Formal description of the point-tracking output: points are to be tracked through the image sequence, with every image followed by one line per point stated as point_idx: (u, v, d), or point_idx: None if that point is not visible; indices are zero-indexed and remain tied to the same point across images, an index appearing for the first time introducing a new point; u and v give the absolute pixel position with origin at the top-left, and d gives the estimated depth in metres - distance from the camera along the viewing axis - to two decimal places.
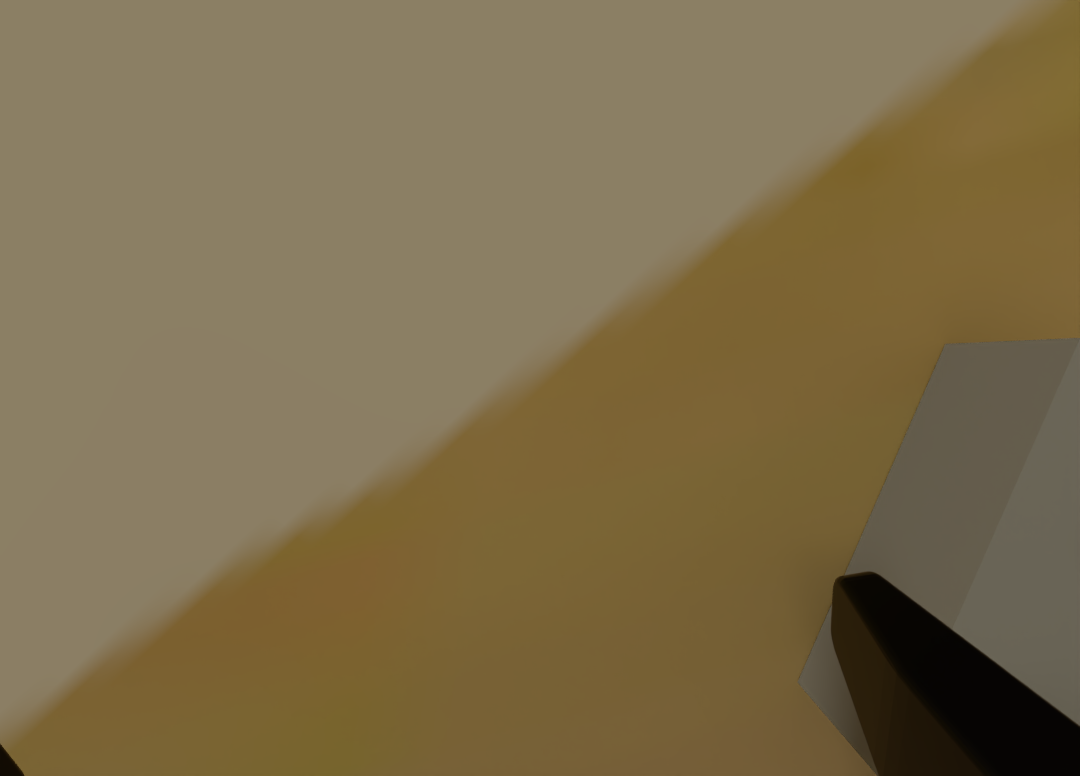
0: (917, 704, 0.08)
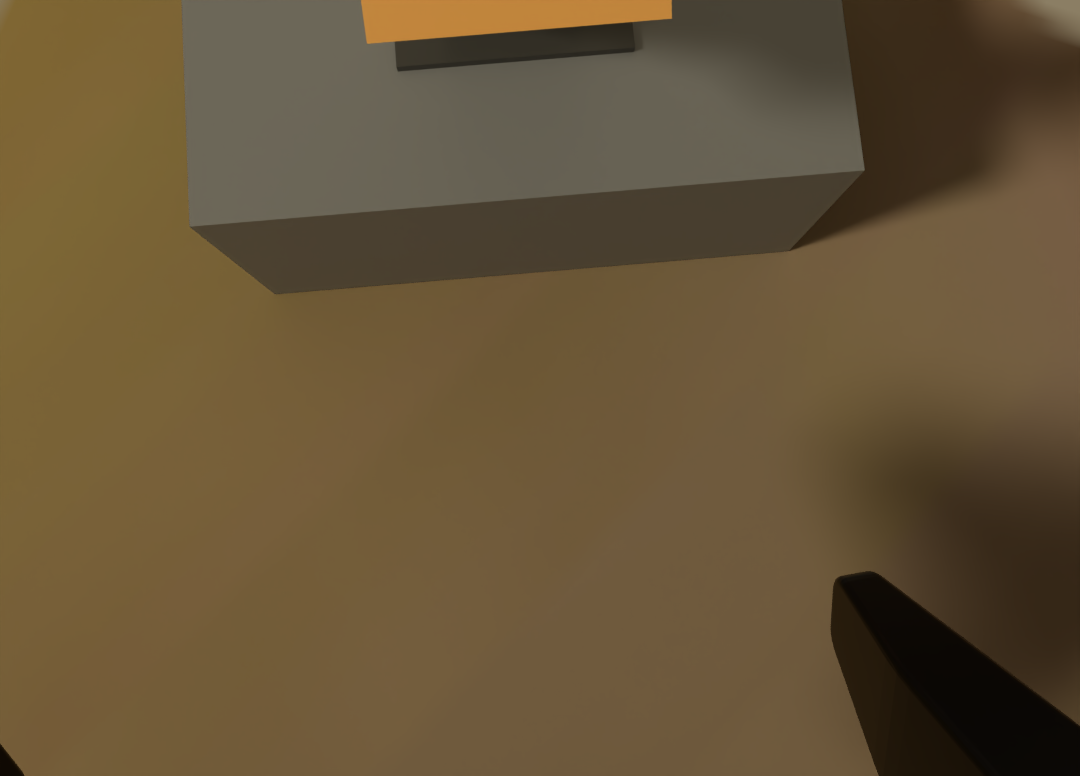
0: (917, 704, 0.08)
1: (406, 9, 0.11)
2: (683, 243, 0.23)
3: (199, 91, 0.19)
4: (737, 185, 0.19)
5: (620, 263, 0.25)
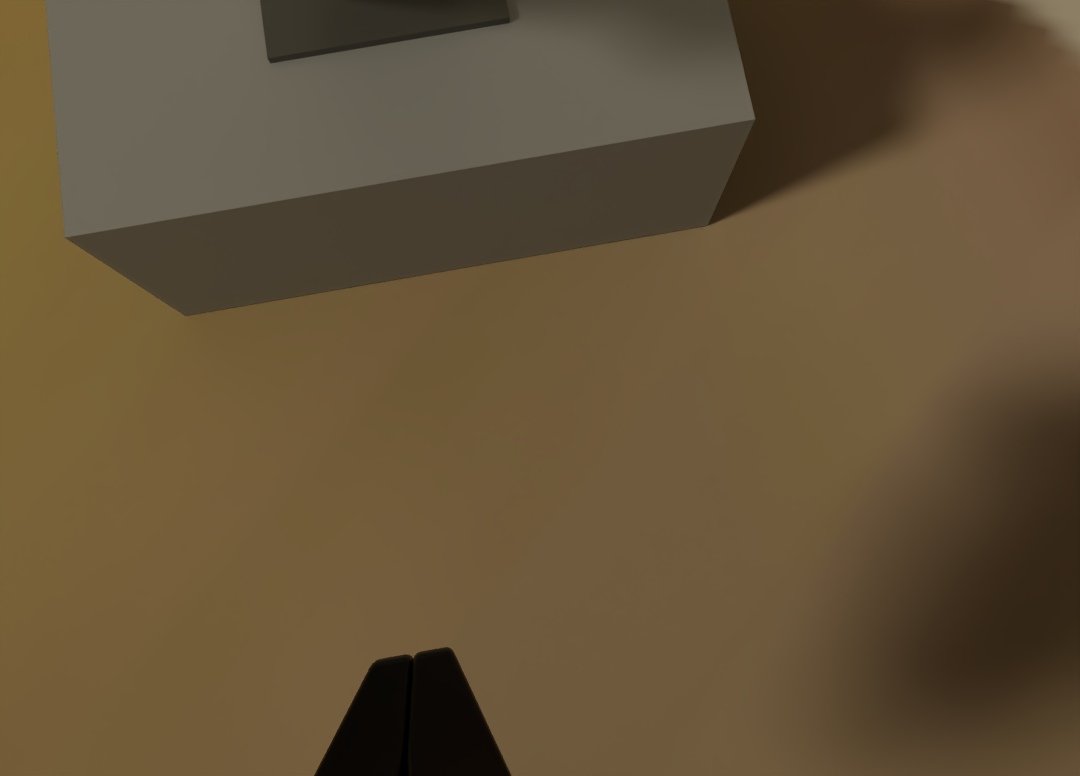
0: None
1: None
2: (594, 223, 0.23)
3: (68, 101, 0.19)
4: (627, 147, 0.19)
5: (536, 252, 0.24)
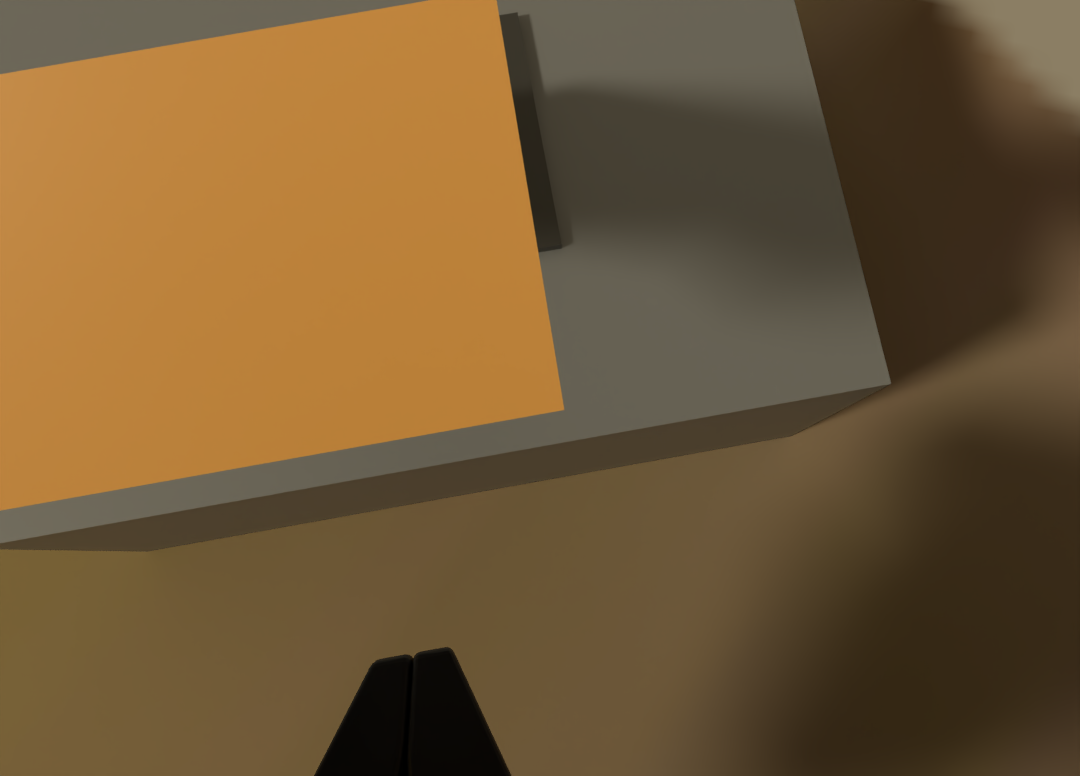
0: None
1: (44, 448, 0.05)
2: (657, 452, 0.18)
3: None
4: (719, 416, 0.14)
5: (581, 473, 0.19)
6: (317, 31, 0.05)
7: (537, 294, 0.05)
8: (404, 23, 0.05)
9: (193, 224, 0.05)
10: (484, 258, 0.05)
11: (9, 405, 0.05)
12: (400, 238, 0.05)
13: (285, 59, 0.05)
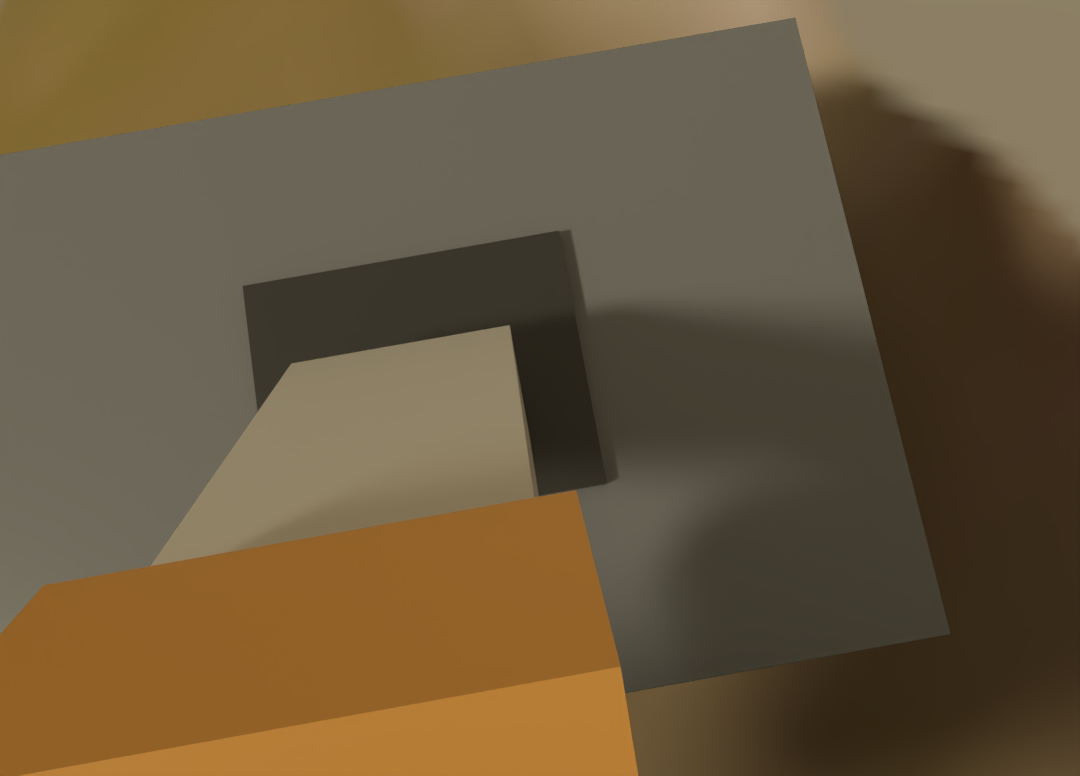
0: None
1: None
2: None
3: None
4: (770, 663, 0.14)
5: None
6: (420, 717, 0.04)
7: None
8: (518, 704, 0.04)
9: None
10: None
11: None
12: None
13: (383, 741, 0.04)
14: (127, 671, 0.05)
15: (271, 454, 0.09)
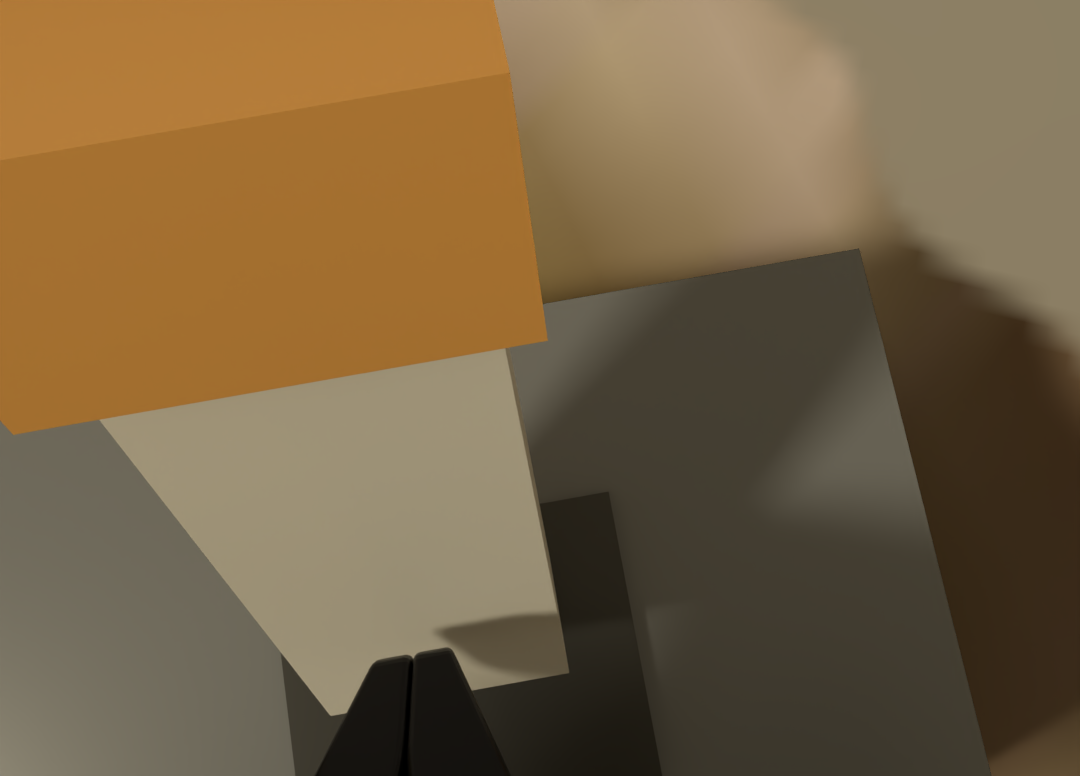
0: None
1: None
2: None
3: None
4: None
5: None
6: None
7: (486, 8, 0.05)
8: None
9: None
10: None
11: None
12: None
13: None
14: None
15: None
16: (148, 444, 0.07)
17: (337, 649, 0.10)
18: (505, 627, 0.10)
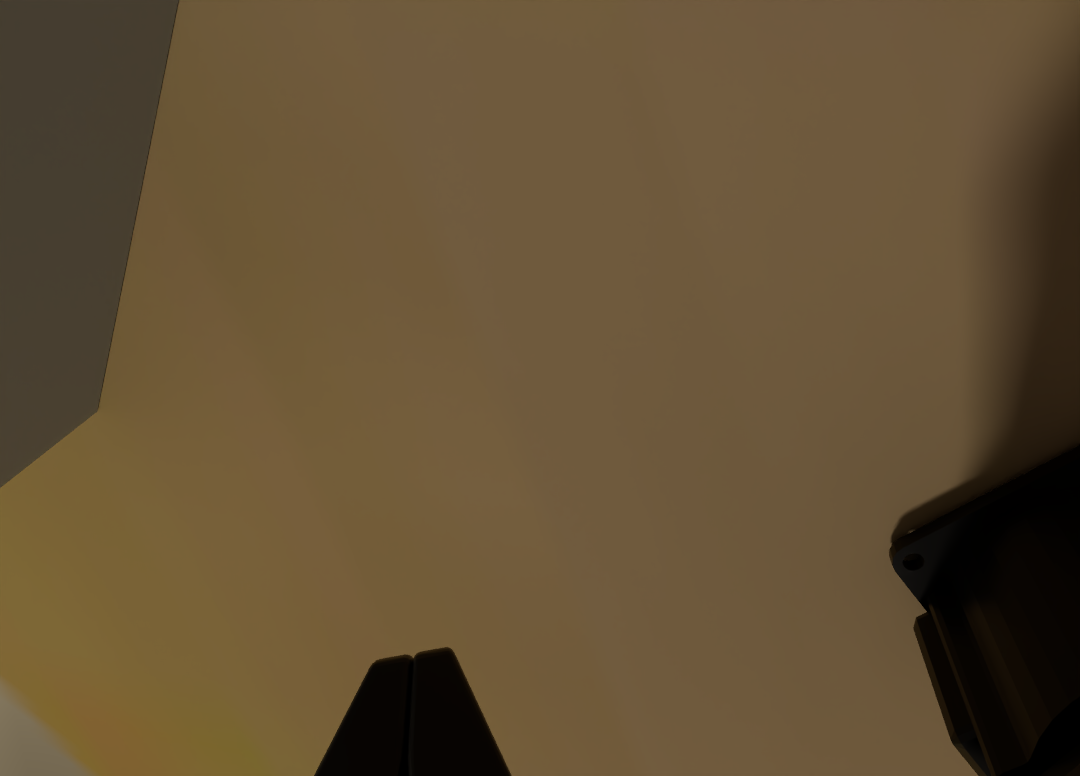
0: None
1: None
2: (136, 17, 0.19)
3: None
4: (6, 1, 0.15)
5: (158, 79, 0.20)
6: None
7: None
8: None
9: None
10: None
11: None
12: None
13: None
14: None
15: None
16: None
17: None
18: None
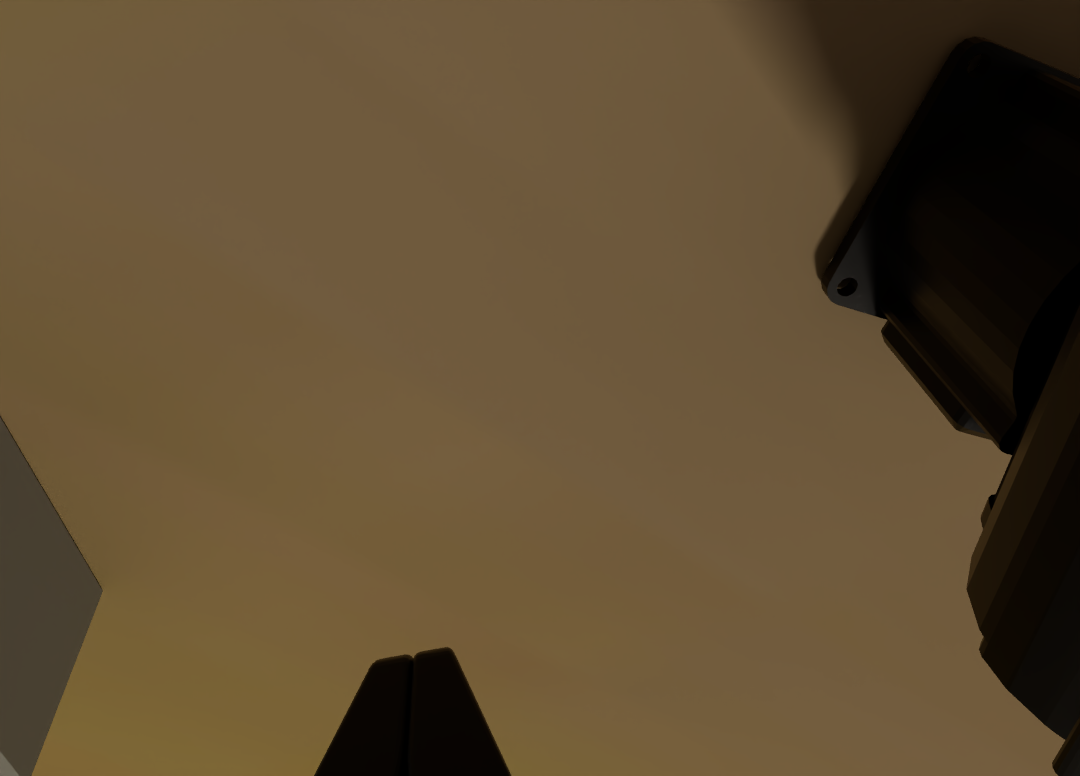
0: None
1: None
2: None
3: None
4: None
5: None
6: None
7: None
8: None
9: None
10: None
11: None
12: None
13: None
14: None
15: None
16: None
17: None
18: None
